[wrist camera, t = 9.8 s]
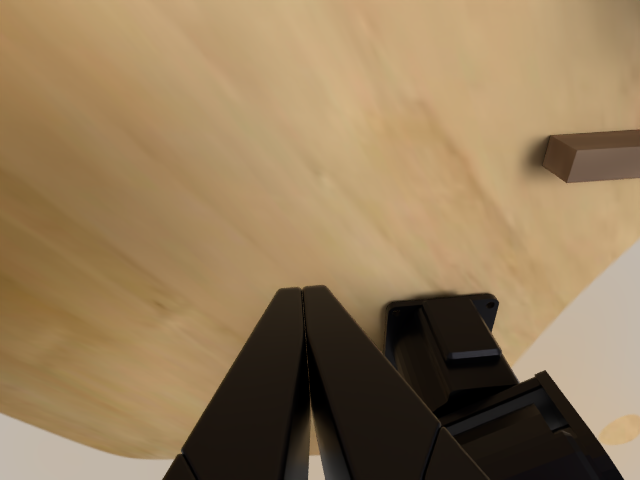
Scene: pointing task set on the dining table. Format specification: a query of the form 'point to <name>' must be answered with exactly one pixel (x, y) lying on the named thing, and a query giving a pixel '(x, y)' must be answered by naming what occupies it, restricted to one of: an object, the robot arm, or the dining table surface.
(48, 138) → the dining table surface
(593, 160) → the bay
